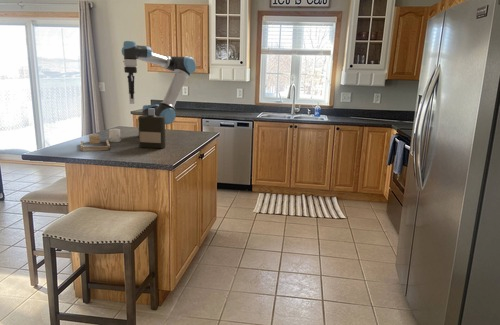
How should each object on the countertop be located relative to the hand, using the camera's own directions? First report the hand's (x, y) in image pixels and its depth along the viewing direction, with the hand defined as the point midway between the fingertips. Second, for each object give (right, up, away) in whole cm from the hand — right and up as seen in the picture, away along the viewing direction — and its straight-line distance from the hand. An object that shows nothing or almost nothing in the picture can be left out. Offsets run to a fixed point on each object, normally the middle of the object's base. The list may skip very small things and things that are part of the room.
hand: (132, 103), depth 235 cm
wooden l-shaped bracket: (-20, -29, -9) cm, 36 cm away
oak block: (-26, -26, +3) cm, 36 cm away
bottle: (+14, -29, -4) cm, 33 cm away
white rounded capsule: (-15, -24, +10) cm, 30 cm away
